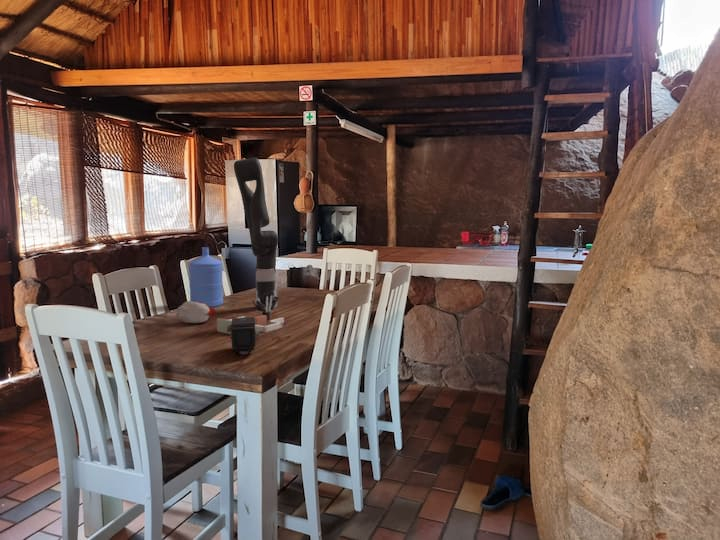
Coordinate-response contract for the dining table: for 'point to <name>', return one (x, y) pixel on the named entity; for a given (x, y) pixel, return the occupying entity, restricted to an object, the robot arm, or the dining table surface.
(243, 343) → the camera
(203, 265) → the water jug
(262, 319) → the block
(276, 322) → the box
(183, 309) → the white and red lump
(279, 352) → the dining table surface
